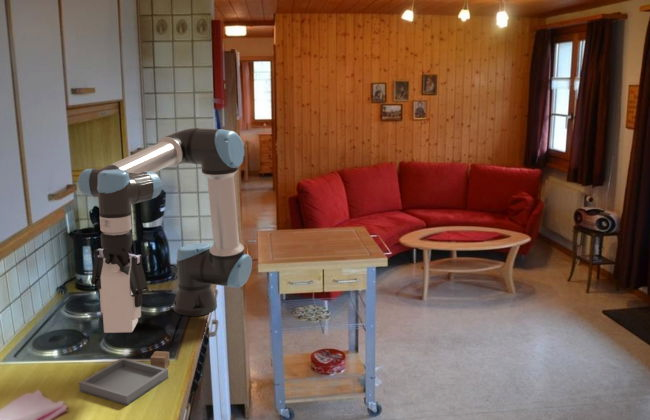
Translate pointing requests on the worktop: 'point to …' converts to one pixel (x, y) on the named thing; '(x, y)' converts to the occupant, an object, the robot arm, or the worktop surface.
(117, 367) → the tray
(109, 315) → the milk carton
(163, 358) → the walnut block
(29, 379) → the worktop surface
